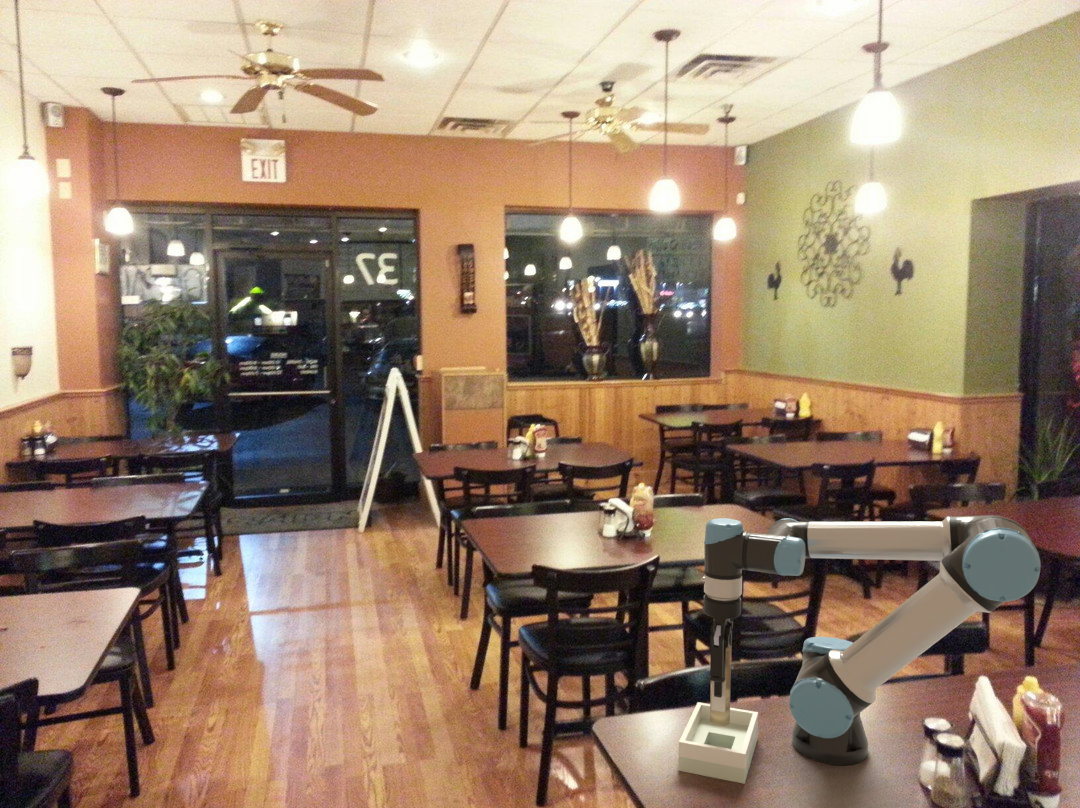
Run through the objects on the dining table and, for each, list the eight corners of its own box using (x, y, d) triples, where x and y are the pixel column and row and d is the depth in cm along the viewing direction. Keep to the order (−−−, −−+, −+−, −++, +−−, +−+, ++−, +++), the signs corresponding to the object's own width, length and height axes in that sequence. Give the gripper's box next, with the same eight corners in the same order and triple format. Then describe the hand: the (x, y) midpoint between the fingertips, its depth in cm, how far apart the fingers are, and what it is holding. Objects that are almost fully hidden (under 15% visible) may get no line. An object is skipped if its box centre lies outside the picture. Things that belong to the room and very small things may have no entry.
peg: (711, 715, 174) (713, 641, 172) (731, 718, 172) (732, 644, 171) (708, 723, 170) (709, 648, 168) (727, 727, 168) (729, 651, 167)
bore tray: (757, 739, 178) (758, 712, 177) (744, 783, 160) (745, 754, 160) (697, 728, 183) (697, 702, 182) (678, 770, 165) (678, 741, 165)
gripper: (711, 581, 178) (709, 686, 180) (695, 605, 162) (693, 720, 164) (747, 585, 175) (744, 691, 177) (734, 610, 159) (732, 727, 161)
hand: (720, 705), depth 171 cm, fingers closed on peg, 4 cm apart
